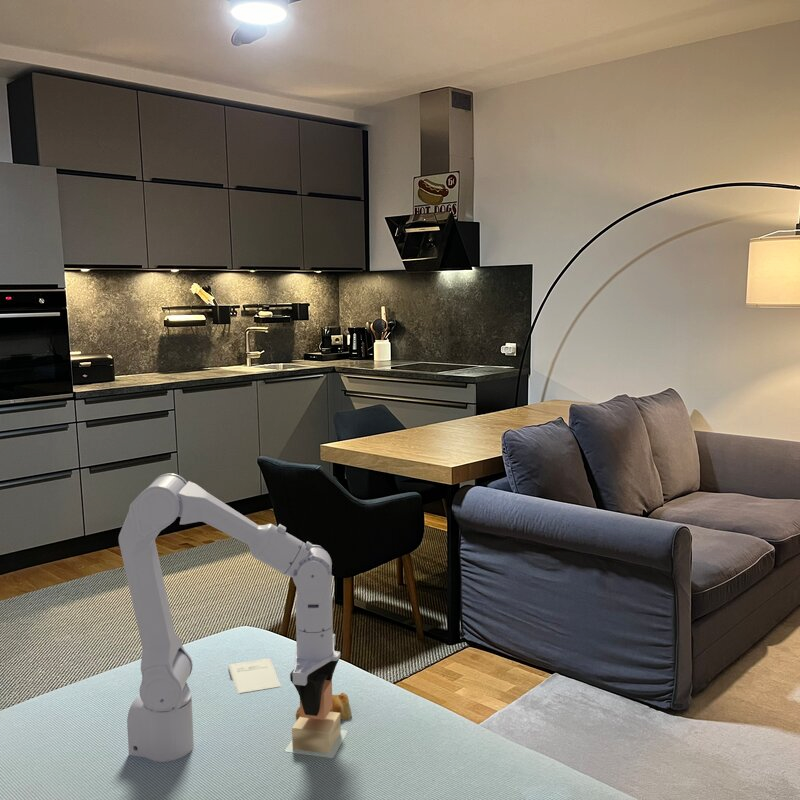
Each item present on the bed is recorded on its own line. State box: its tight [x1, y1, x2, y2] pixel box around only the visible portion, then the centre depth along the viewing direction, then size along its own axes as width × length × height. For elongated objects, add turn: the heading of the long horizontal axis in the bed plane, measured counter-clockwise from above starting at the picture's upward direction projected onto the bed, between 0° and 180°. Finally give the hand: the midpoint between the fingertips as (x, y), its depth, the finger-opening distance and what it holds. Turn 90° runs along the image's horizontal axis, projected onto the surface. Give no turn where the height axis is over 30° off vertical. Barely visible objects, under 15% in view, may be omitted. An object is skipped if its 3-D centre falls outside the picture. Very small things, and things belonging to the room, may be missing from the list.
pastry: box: [295, 692, 353, 721], centre depth 135 cm, size 9×7×4 cm
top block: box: [299, 680, 333, 720], centre depth 125 cm, size 4×4×4 cm
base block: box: [291, 712, 342, 753], centre depth 126 cm, size 6×6×4 cm
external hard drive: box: [228, 658, 282, 695], centre depth 149 cm, size 2×8×12 cm
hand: (316, 707), depth 125 cm, fingers closed on top block, 4 cm apart
